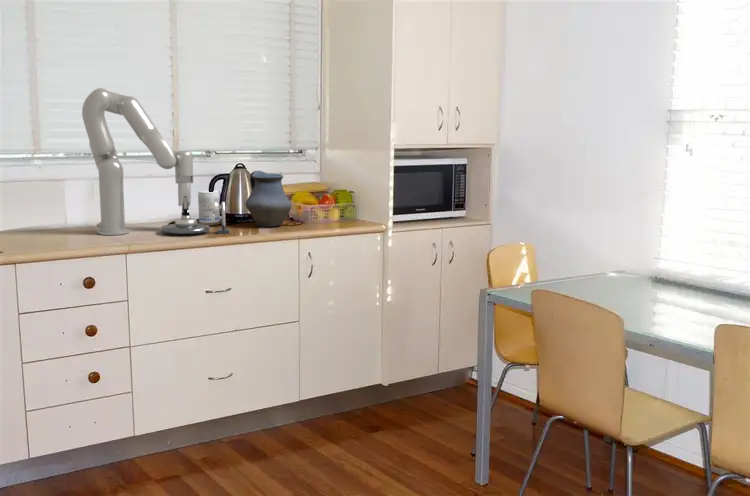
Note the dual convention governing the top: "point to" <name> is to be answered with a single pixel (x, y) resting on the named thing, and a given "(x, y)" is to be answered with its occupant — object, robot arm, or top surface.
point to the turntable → (185, 229)
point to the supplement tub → (203, 202)
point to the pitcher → (267, 199)
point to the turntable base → (186, 234)
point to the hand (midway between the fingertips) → (185, 221)
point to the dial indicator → (214, 207)
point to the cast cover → (185, 222)
